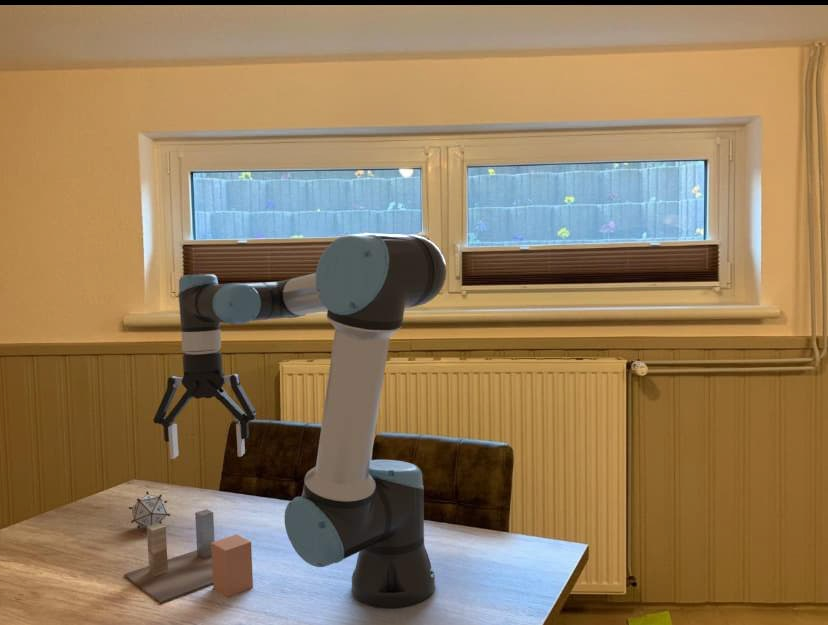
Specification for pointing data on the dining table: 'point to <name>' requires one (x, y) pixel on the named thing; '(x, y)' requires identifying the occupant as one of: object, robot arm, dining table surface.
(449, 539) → the dining table surface
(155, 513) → the knobbed grey icosahedron
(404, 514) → the robot arm
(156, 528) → the birch post
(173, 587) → the board
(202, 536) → the grey post
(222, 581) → the terracotta upright block
